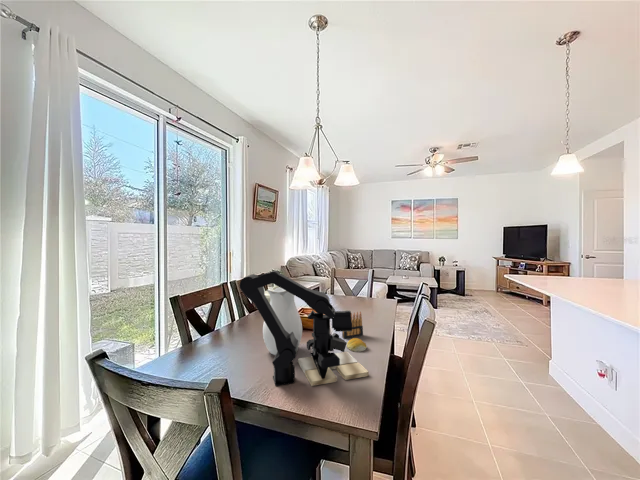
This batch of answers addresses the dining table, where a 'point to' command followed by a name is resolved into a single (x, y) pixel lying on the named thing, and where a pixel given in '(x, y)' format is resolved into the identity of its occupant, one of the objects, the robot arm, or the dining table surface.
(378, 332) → the dining table surface
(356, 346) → the bread roll
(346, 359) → the board
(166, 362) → the dining table surface
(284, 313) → the pitcher
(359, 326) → the ammunition clip
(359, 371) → the plank outer
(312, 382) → the plank inner
